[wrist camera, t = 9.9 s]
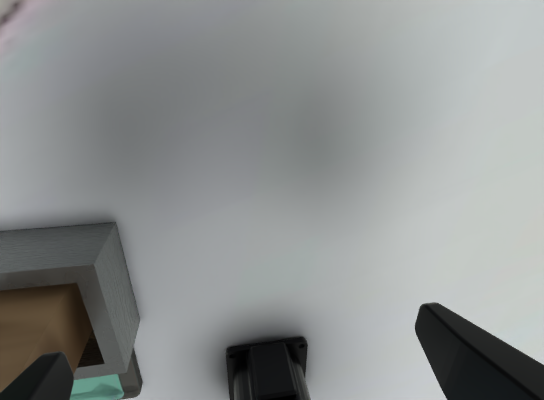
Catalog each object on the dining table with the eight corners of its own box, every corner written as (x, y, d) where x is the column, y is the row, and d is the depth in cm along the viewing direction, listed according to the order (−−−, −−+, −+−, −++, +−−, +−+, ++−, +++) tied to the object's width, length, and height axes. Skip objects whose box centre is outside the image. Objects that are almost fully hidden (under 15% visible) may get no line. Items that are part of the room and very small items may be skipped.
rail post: (102, 304, 21) (25, 493, 12) (36, 312, 21) (-96, 515, 12) (87, 255, 19) (-16, 434, 11) (14, 261, 19) (-160, 457, 10)
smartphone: (-138, 363, 19) (123, 333, 22) (-119, 346, 21) (128, 319, 23) (-81, 433, 23) (141, 400, 25) (-67, 414, 24) (144, 385, 26)
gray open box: (139, 320, 23) (126, 372, 19) (14, 336, 21) (-25, 394, 18) (115, 222, 19) (93, 264, 15) (-38, 234, 18) (-99, 282, 14)
